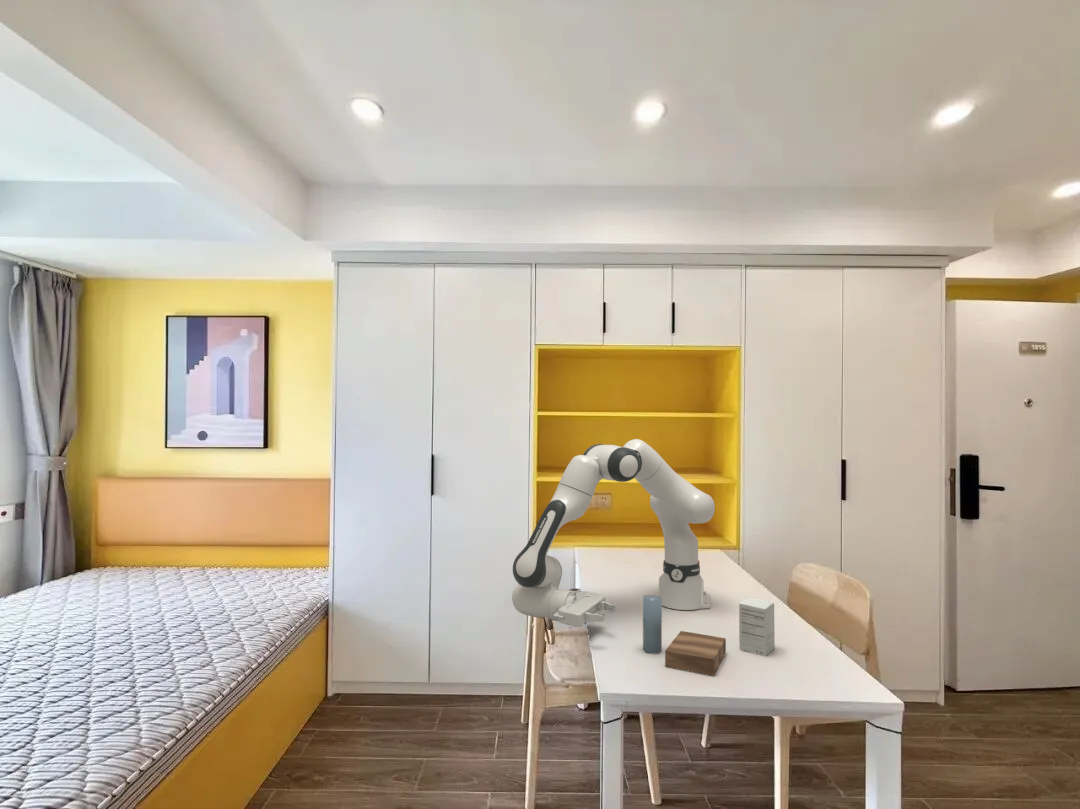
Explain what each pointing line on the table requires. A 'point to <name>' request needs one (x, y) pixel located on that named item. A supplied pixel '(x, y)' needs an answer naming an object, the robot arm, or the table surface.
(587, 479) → the robot arm
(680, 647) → the plate
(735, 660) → the table surface
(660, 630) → the slate cylinder
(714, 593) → the table surface
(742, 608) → the supplement box
